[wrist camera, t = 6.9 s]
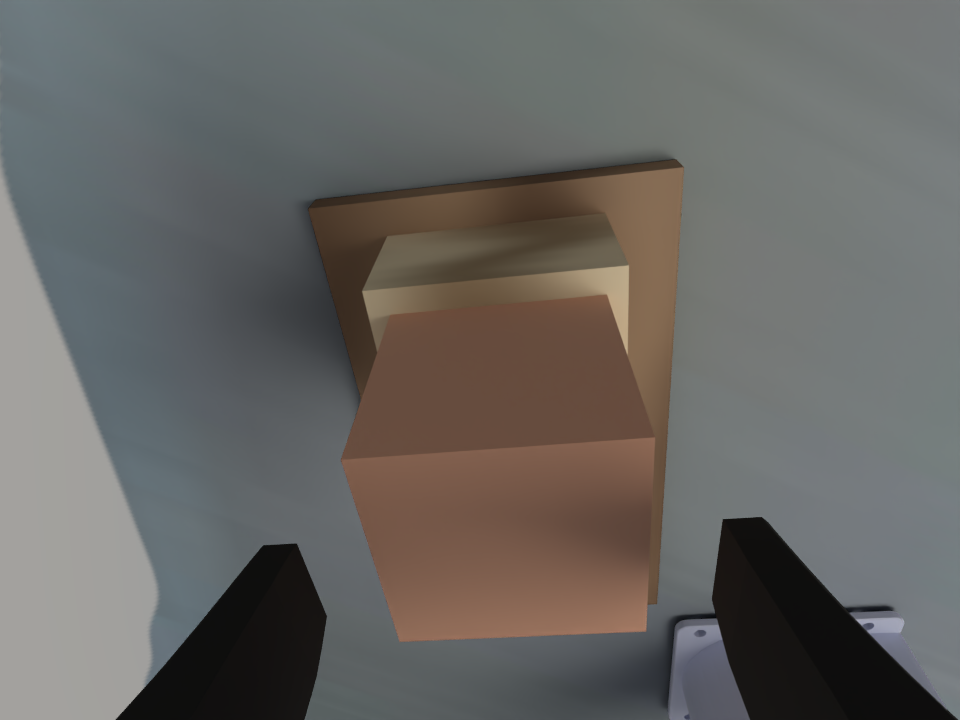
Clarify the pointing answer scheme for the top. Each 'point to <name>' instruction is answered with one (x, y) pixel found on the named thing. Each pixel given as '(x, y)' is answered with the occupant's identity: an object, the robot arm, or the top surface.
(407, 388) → the terracotta block
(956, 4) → the top surface
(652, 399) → the base plate
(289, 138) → the top surface
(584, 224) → the birch block
